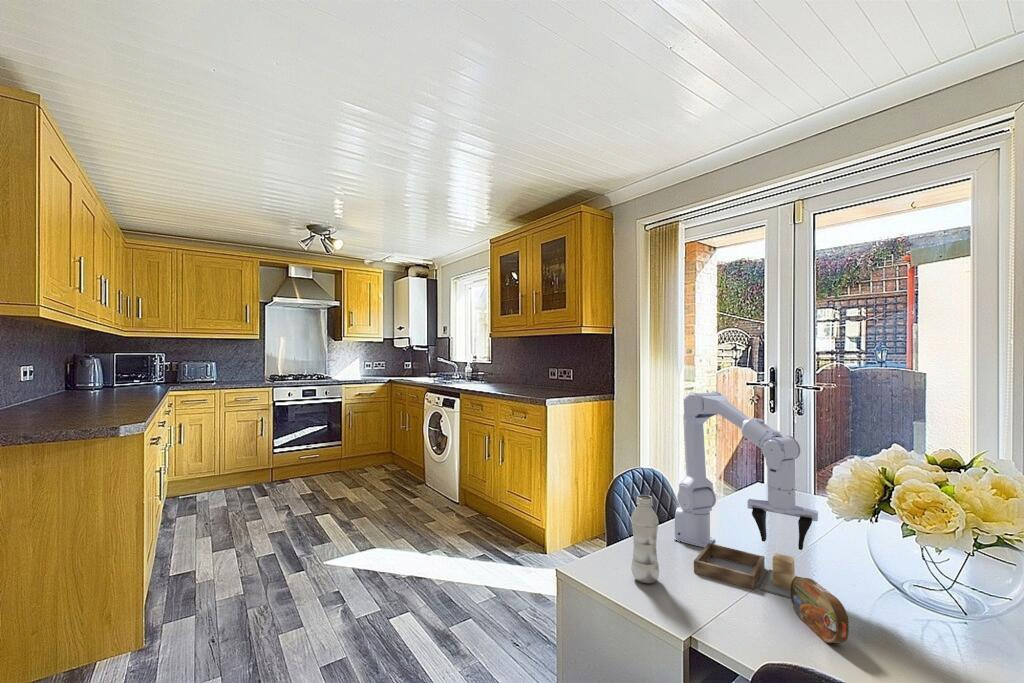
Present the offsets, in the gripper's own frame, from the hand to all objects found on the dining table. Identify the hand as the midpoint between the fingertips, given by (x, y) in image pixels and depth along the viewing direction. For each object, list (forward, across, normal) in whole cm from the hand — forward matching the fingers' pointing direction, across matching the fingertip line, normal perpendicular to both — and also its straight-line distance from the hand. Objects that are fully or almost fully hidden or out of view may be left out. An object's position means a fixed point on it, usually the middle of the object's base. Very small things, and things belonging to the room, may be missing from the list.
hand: (782, 544), depth 111 cm
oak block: (+9, 0, -1) cm, 9 cm away
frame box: (+9, -12, 0) cm, 15 cm away
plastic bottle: (+10, -27, -19) cm, 34 cm away
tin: (+10, +8, -16) cm, 21 cm away
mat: (+9, 0, 0) cm, 9 cm away
